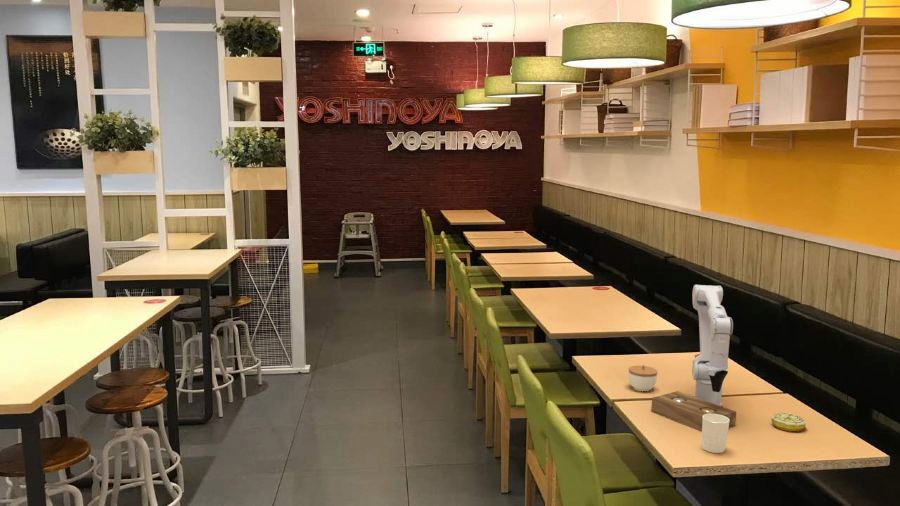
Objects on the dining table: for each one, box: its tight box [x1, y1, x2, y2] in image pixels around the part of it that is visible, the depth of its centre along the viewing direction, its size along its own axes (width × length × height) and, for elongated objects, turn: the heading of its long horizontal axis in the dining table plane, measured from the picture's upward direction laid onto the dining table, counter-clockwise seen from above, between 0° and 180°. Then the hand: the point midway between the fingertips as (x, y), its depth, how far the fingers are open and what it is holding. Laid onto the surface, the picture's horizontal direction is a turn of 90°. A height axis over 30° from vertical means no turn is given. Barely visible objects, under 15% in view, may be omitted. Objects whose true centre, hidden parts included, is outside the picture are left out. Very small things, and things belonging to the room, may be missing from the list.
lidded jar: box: [628, 364, 659, 393], centre depth 282 cm, size 11×11×9 cm
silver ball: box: [673, 398, 685, 402], centre depth 258 cm, size 4×4×4 cm
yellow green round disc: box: [770, 412, 807, 432], centre depth 248 cm, size 10×11×4 cm
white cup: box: [701, 414, 730, 454], centre depth 228 cm, size 8×8×10 cm
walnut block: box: [650, 390, 737, 432], centre depth 253 cm, size 14×24×5 cm, turn 35°
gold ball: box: [702, 408, 714, 413], centre depth 248 cm, size 4×4×4 cm
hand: (716, 391), depth 251 cm, fingers closed
